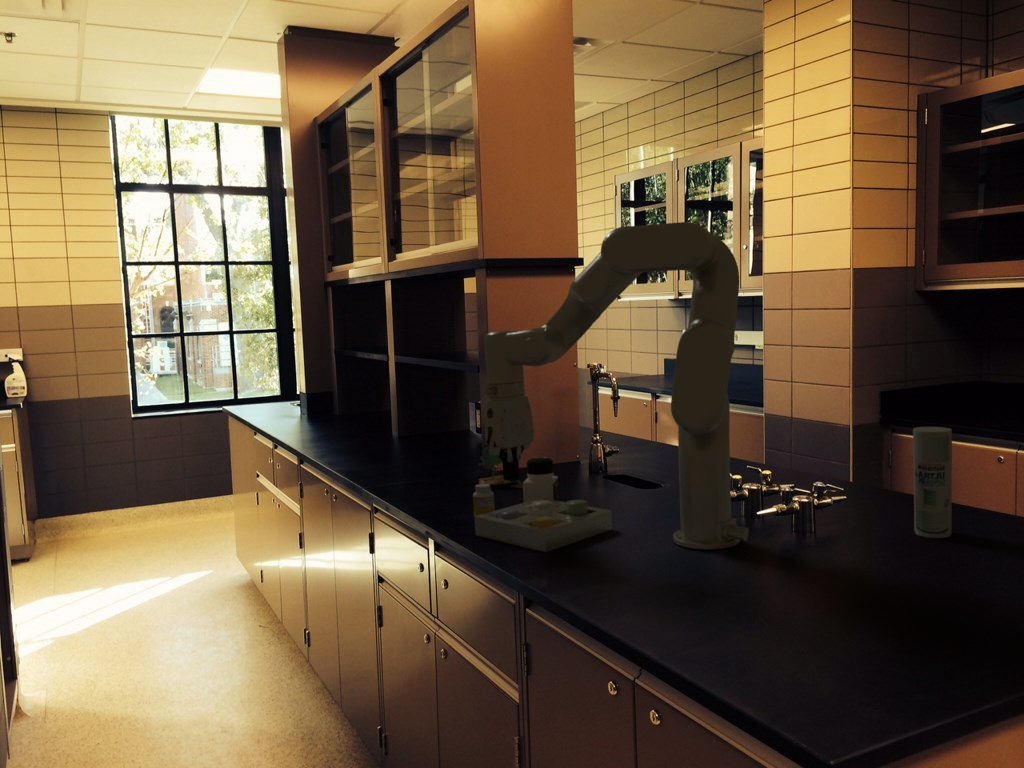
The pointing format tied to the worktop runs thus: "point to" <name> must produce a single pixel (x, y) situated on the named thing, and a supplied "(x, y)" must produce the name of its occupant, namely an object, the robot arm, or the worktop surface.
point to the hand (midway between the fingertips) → (511, 479)
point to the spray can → (932, 481)
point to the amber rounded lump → (543, 521)
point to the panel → (538, 537)
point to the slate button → (508, 514)
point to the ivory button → (542, 505)
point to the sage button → (576, 508)
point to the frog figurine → (496, 479)
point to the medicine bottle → (540, 480)
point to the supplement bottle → (483, 500)
